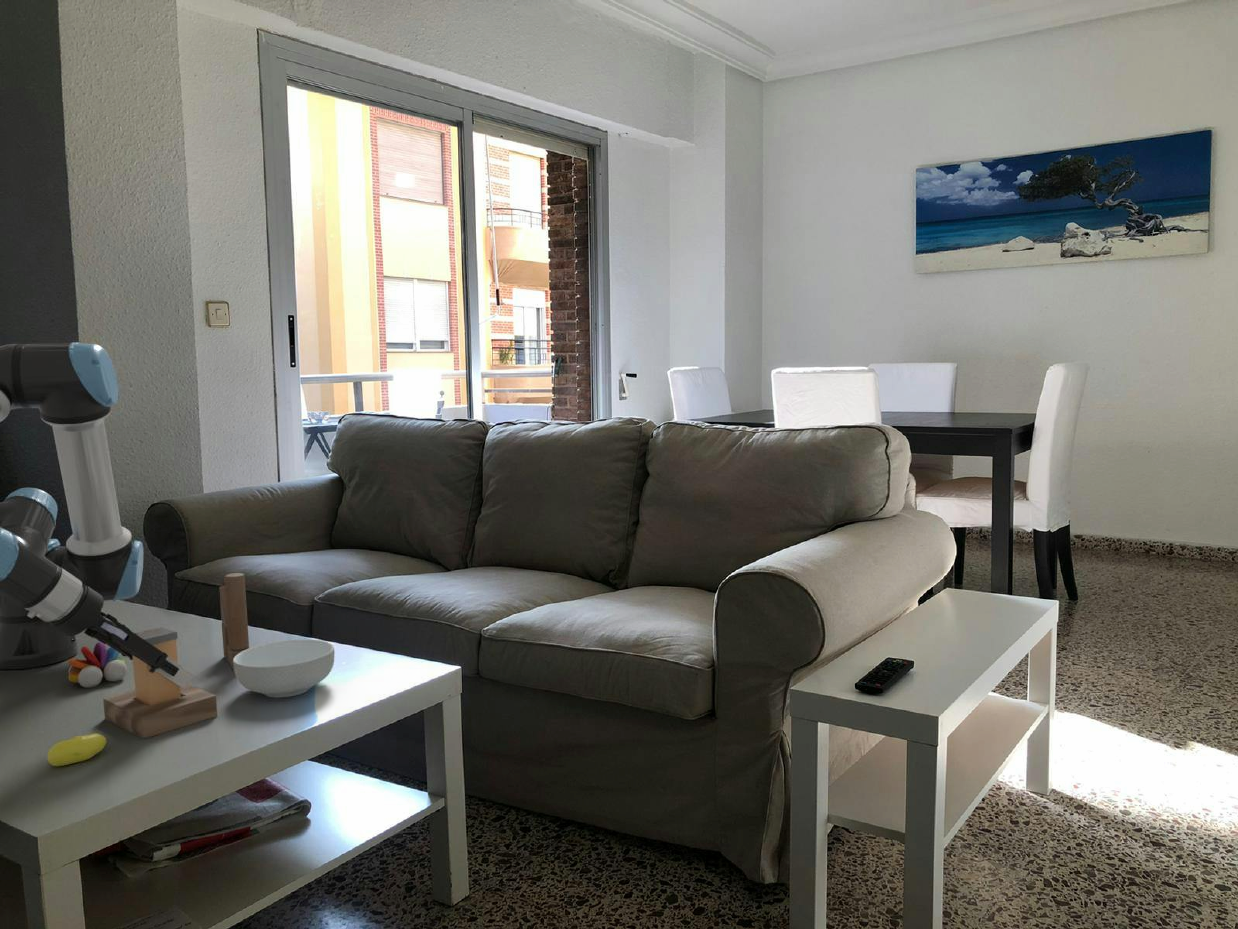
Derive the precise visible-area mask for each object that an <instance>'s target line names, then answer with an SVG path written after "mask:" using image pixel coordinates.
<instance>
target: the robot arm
mask: <svg viewBox="0 0 1238 929" xmlns="http://www.w3.org/2000/svg"><path fill="white" fill-rule="evenodd" d="M118 399H119V387H118V379H117V374H116V370H115V367H114V364H113V361H112V359H111V357H110V355H109V353H108V352H107V351H106V349H105V348H103V346H101V345H99V344H97V343H96V344H95V343H83V342H82V343H81V342H78V341H77V342H62V343H54V342H53V343H26V344H25V343H24V344H23V343H10V344H5V345H0V423H1V422H3V421H4V420H6V418H7V417H8V416H9V414H10V412H11V410H16V409H38V410H39V414H40V419H41V420H42V422H44V423H45V424H47V425H50V426H51V427H52V432H53V436H54V437H53V438H54V443H55V447H56V452H57V459H58V462H59V467H60V473H61V478H62V485H63V489H64V490H63V491H64V495H65V500H66V505H67V510H68V515H69V520H70V525H71V526H70V527H71V531H72V534H71V535H70V536H69V538H67V540H66V543H65V545H64V546H63V545H62V546H61V543H60V541H59V539H57V538H52V537H53V536H52V535H53V532H54V531H55V529H56V526H57V524H56V520H57V517H58V516H57V515H58V504H57V502H56V500H55V499H54V498H53V496H52V495H51V494H49V493H48V492H46V491H45V490H42V489H39V488H35V487H22V488H18V489H17V490H14V491H13V492H11V493H9V494H8V496H6V497H5V499H4V501H2V502H0V670H21V669H31V668H32V669H33V668H38V667H43V666H47V665H52V664H55V663H60V662H63V661H65V660H68V659H70V658H73V657H75V656H76V655H77V654H78V653H79V642H78V639H77V637H76V636H77V635H79V634H81V633H84V634H85V635H87V636H88V637H90V638H92V639H95V640H97V641H98V642H102V643H104V644H105V645H107V646H108V647H109V648H110V647H111V648H113V649H114V650H116V651H117V652H119V654H120V655H121V656H122V657H125V658H126V657H127V658H128V659H129V660H130V661H133V657H132V655H133V656H135V657H136V658H138V659H140V660H141V661H143V662H145V663H146V664H148V665H149V666H151V669H150V670H149V671H150V672H151V673H153V672H154V671H156V672H158V673H159V674H161V675H162V676H164V677H165V678H167V679H168V680H170V681H171V682H173V683H175V684H176V685H178V686H179V687H181V688H183V689H184V688H185V687H186V686H187V684H190V681H191V680H192V679H193V677H194V676H195V674H194V673H193V672H191V671H189V670H188V669H186V668H185V667H183V666H182V665H180V664H179V663H178V664H177V663H176V662H174V661H173V660H171V659H170V658H169V657H168V655H167V654H166V653H163V652H162V651H160V650H159V649H157V648H156V647H154V646H153V645H151V644H150V643H148V642H147V641H145V640H144V639H142V638H141V637H139V636H138V635H136V634H135V633H136V632H134V631H132V630H131V629H130V628H129V627H127V626H126V625H125V624H123V623H121V622H119V621H118V619H117V618H116V617H114V616H113V615H111V614H109V613H105V612H103V611H102V609H103V607H104V603H105V602H106V601H107V602H109V601H113V602H115V601H118V600H127V599H131V598H134V597H135V596H136V595H138V593H139V590H140V588H141V583H142V578H143V572H144V571H143V569H144V545H143V542H142V541H140V540H135V539H134V540H133V538H132V537H133V536H132V532H131V531H130V530H129V529H127V528H126V527H124V526H122V523H121V518H120V510H119V505H118V498H117V493H116V486H115V480H114V474H113V470H112V469H113V467H112V461H111V457H110V449H109V444H108V436H107V430H106V425H105V420H106V419H107V417H108V416H109V415H110V414H111V413H112V408H111V407H112V406H114V405H116V404H117V402H118V401H119V400H118Z"/></svg>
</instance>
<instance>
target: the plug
mask: <svg viewBox="0 0 1238 929" xmlns="http://www.w3.org/2000/svg"><path fill="white" fill-rule="evenodd" d="M134 633H135V634H136V635H138V636H139V637H141V638H142V639H144V640H145V641H147V642H148V643H150V644H151V645H153V646H154V647H156V648H157V649H159V650H160V651H162V652H163V653H166V654H167V655H168V657H169V658H170V659H171V660H173V661H174V662H176V663H177V664H179V663H178V649H177V648H178V647H177V640H178V631H176V630H173V629H170V628H167V627H164V626H159V627H156V628H151V629H146V630H143V631H142V630H141V631H138V632H134ZM132 657H133V660H132V668H133V676H134V677H133V678H134V688H135V689H134V690H135V691H136V700H137V701H140V702H142V703H144V704H146V705H148V706H152V705H155V704H159V703H162V702H166V701H169V700H173V699H176V698H180V697H181V694H180V687H179V686H178V685H176V684H175V683H173V682H171V681H170V680H168V679H167V678H165V677H164V676H162V675H161V674H159V673H158V672H156V671H154V672H153V673H151V672H150V671H149V670H150V669H151V666H149V665H148V664H146V663H145V662H143V661H141V660H140V659H138V658H136V657H135V656H133V655H132Z"/></svg>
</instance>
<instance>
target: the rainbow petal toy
mask: <svg viewBox="0 0 1238 929" xmlns="http://www.w3.org/2000/svg"><path fill="white" fill-rule="evenodd" d="M80 652H81V654H82V656H83V657H84V659H78V658H71V659H70V658H69V660H68V664H69V665H70V666H69V668H68V677H67V678H68V680H69V681H70V682H71V683H75V684H76V683H79V685H80V686H81V687H83V688H87V689H90V688H91V689H92V688H94V687H97V686H98V685H99V684H100V683H101V682H102V680H103V677H104V679H105V680H106V681H109V682H111V683H114V682H119V681H121V680H122V679H124V678H125V676H126V675H127V671H128V668H127V664H126V660H125V659H123V658H118V657H119V655H120V653H119V652H117V651H116V650H114V649H113V648H111V647H110V646H109V648H107V646H106V644H104V643H102V642H100V641H98V642H97V643H96V644H95V645H94V648H93V651H91V650H90V648H89V647H88V646H86V645H85V646H82V647H81V648H80Z"/></svg>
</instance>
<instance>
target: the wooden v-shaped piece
mask: <svg viewBox="0 0 1238 929" xmlns="http://www.w3.org/2000/svg"><path fill="white" fill-rule="evenodd" d="M223 578H224V586H219V588H218V589H219V604H220V606H219V607H220V615H221V616H220V617H221V634H222V649H223V650H222V651H223V656H224V658H225V659H226V661H227V663H228V664H229V666H230V668H231V669H232V670H233V671H234V666H233V659H234V657H235V656H236V655H237V654H239V653H240V652H242V651H244V650H247V649H249V648H250V642H249V640H250V639H249V638H250V636H249V624H248V623H249V622H248V611H247V610H248V608H247V594H246V592H247V591H246V579H245V574H244V573H241V572H235V573H228V574H225V576H224V577H223Z"/></svg>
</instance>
